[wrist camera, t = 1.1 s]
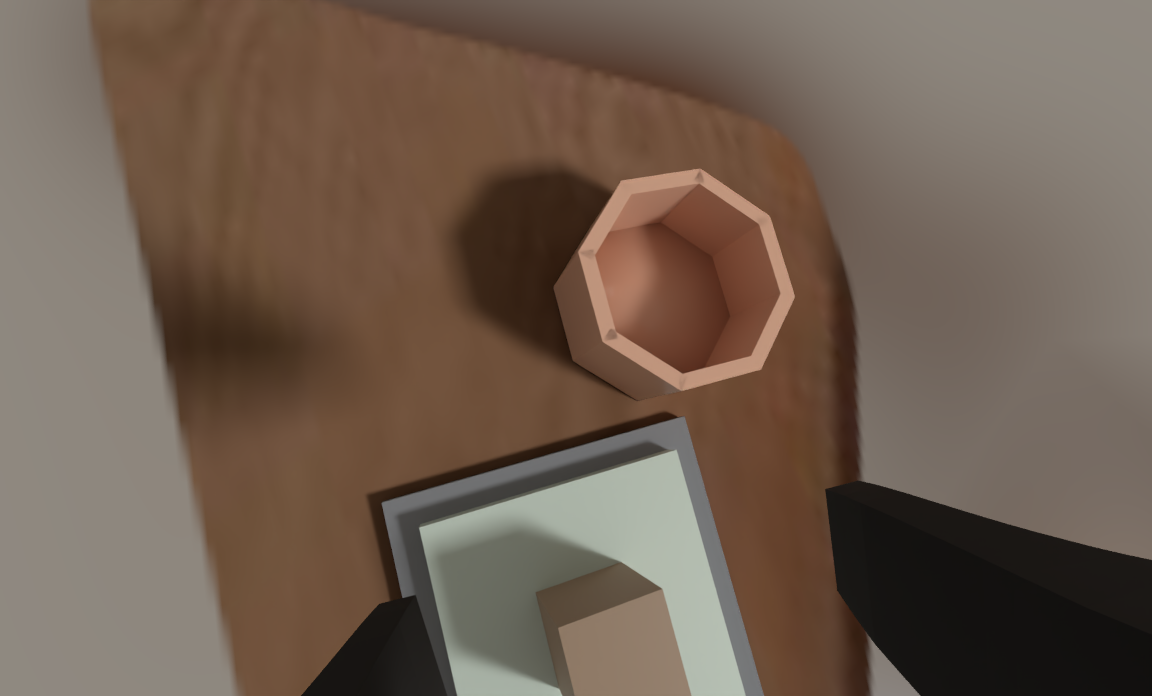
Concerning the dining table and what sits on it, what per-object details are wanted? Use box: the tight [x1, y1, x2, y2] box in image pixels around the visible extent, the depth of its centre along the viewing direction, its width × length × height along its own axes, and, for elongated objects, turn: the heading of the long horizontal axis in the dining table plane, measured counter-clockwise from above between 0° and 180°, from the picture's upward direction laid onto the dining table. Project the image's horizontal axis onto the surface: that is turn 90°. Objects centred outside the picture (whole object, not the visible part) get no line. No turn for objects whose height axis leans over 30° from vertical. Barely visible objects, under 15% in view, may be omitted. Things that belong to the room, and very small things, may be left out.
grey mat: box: [382, 416, 764, 696], centre depth 19 cm, size 11×11×1 cm
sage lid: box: [419, 450, 746, 696], centre depth 17 cm, size 9×9×4 cm
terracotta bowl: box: [553, 169, 795, 401], centre depth 20 cm, size 7×7×4 cm
